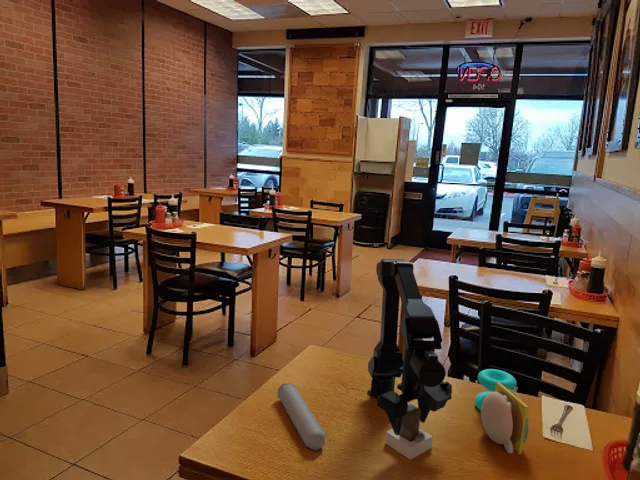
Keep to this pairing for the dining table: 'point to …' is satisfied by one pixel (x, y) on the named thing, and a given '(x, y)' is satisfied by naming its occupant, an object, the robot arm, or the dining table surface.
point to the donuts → (493, 382)
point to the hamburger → (505, 418)
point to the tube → (301, 416)
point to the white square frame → (409, 443)
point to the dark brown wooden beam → (410, 423)
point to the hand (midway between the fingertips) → (409, 428)
